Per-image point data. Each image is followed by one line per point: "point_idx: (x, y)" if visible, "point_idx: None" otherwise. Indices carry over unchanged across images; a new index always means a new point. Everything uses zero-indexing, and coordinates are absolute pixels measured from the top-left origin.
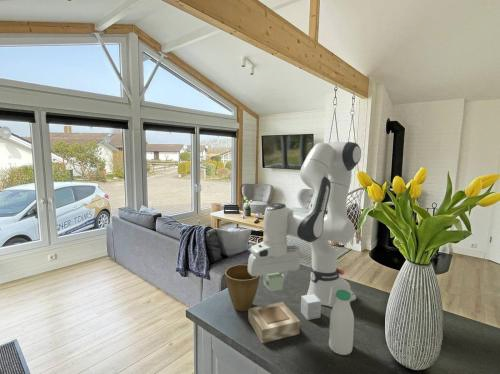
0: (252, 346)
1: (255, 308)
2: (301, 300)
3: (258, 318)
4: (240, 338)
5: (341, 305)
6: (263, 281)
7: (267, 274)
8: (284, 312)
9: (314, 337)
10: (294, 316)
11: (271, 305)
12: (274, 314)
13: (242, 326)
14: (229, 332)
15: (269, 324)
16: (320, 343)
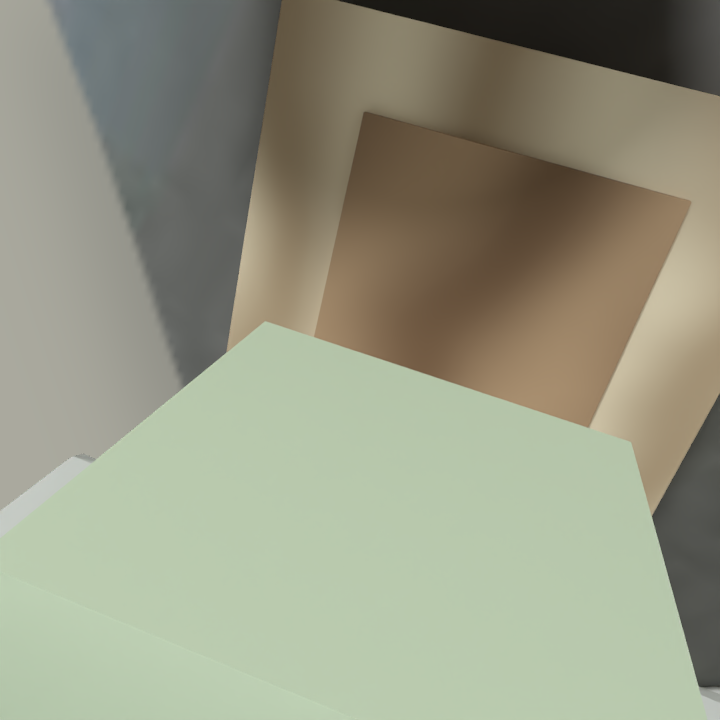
0: (191, 344)
1: (366, 47)
2: None
3: (278, 257)
4: (150, 214)
5: None
6: (42, 481)
7: (4, 715)
8: (610, 373)
9: (673, 581)
10: (651, 483)
11: (617, 118)
12: (474, 324)
13: (234, 72)
14: (96, 83)
15: None
16: None
